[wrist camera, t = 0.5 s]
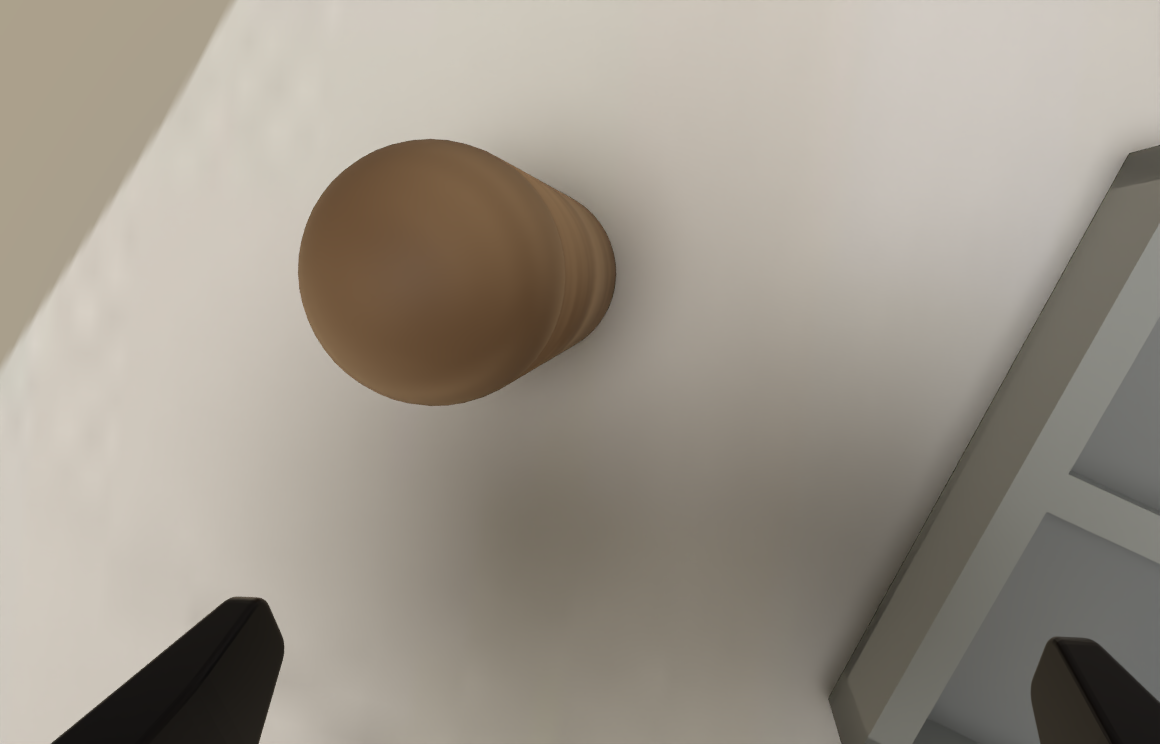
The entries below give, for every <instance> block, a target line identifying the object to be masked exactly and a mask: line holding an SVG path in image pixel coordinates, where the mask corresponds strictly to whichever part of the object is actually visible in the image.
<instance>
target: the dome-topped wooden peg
mask: <svg viewBox="0 0 1160 744" xmlns="http://www.w3.org/2000/svg"><path fill="white" fill-rule="evenodd" d="M298 277H299V289H300V294H301V298H302V303H303V306H304V309H305V312H306V315H307V318H308V321H309V323H310V325H311V327H312V329H313V332H314V334H315V336H316V337H317V339H318V340H319V342H320V344H321V345H322V347H323V348H324V350H325V351H326V352H327V353H328V355H329V356H330V357H331V358H332V359H333V361H334V362H335V363H336V364H337V365H338V366H339V367H340V368H341V369H342V370H344V371H345V372H346V373H347V374H348V375H349V376H351V377H352V378H354V379H355V380H356V381H358V382H359V383H361V384H362V385H364V386H366V387H368V388H369V389H371V390H373V391H375V392H377V393H379V394H381V395H384V396H386V397H389V398H391V399H394V400H398V401H402V402H406V403H411V404H419V405H428V406H444V405H453V404H460V403H465V402H468V401H472V400H475V399H478V398H481V397H484V396H487V395H489V394H491V393H493V392H495V391H498V390H500V389H501V388H503V387H505V386H506V385H508V384H510V383H511V382H513V381H515V380H516V379H518V378H520V377H521V376H523V375H525V374H527V373H528V372H530V371H532V370H533V369H535V368H537V367H538V366H540V365H542V364H543V363H545V362H547V361H548V360H550V359H552V358H553V357H555V356H557V355H559V354H560V353H562V352H564V351H565V350H567V349H569V348H570V347H572V346H574V345H575V344H577V343H578V342H580V341H582V340H583V339H584V338H585V337H587V336H588V335H589V334H590V333H591V332H592V331H593V330H594V329H595V328H596V327H597V326H598V324H599V323H600V321H601V320H602V318H603V317H604V315H605V313H606V311H607V310H608V308H609V305H610V302H611V300H612V297H613V293H614V288H615V281H616V264H615V258H614V252H613V249H612V246H611V243H610V240H609V238H608V236H607V234H606V232H605V230H604V229H603V227H602V225H601V224H600V222H599V221H598V220H597V219H596V218H595V216H594V215H593V214H592V213H591V212H590V211H589V210H588V209H586V208H585V207H584V206H583V205H581V204H580V203H578V202H577V201H575V200H574V199H572V198H570V197H568V196H566V195H565V194H563V193H561V192H559V191H557V190H556V189H554V188H552V187H550V186H548V185H547V184H545V183H543V182H541V181H540V180H538V179H536V178H534V177H532V176H531V175H529V174H527V173H525V172H523V171H522V170H520V169H518V168H516V167H514V166H513V165H511V164H509V163H507V162H505V161H504V160H502V159H500V158H498V157H496V156H494V155H492V154H490V153H488V152H487V151H484V150H481V149H479V148H476V147H473V146H470V145H467V144H463V143H458V142H453V141H449V140H437V139H425V140H412V141H406V142H401V143H397V144H392V145H389V146H386V147H384V148H381V149H378V150H376V151H374V152H372V153H370V154H368V155H366V156H364V157H362V158H361V159H359V160H358V161H356V162H355V163H354V164H352V165H351V166H349V167H348V168H347V169H345V170H344V171H343V172H342V173H341V174H340V175H339V176H338V177H336V178H335V179H334V180H333V181H332V182H331V184H330V185H329V186H328V187H327V189H326V190H325V191H324V192H323V194H322V195H321V197H320V198H319V200H318V201H317V203H316V205H315V206H314V208H313V210H312V212H311V215H310V217H309V219H308V221H307V224H306V227H305V230H304V234H303V237H302V241H301V246H300V253H299V264H298Z"/></svg>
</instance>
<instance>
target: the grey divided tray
mask: <svg viewBox="0 0 1160 744" xmlns="http://www.w3.org/2000/svg"><path fill="white" fill-rule="evenodd" d="M1056 636H1061V637H1081V638H1088V639H1091V640H1093V641H1095V642H1097V643H1098V644H1099V645H1101V646H1102V647H1103V648H1104V649H1105V650H1106V651H1107V652H1108V653H1109V654H1110V655H1111V656H1112V657H1113V658H1114V659H1115V660H1116V661H1117V662H1118V663H1119V664H1121V665H1122V666H1123V667H1124V668H1125V669H1126V670H1127V671H1128V672H1129V673H1130V674H1131V675H1132V676H1133V677H1134V678H1135V679H1136V680H1137V681H1138V682H1139V683H1140V684H1141V685H1142V686H1143V687H1144V688H1145V689H1146V690H1148V691H1149V692H1150V693H1151V694H1152V695H1153V696H1154V697H1155V698H1156V699H1157V700H1158V701H1159V702H1160V145H1159V146H1155V147H1151V148H1148V149H1144V150H1140V151H1137V152H1133V153H1129V155H1128V157H1127V159H1126V160H1125V162H1124V164H1123V166H1122V168H1121V169H1120V171H1119V173H1118V175H1117V177H1116V178H1115V180H1114V182H1113V184H1112V186H1111V188H1110V189H1109V191H1108V193H1107V195H1106V197H1105V198H1104V200H1103V202H1102V204H1101V206H1100V207H1099V209H1098V211H1097V213H1096V215H1095V217H1094V218H1093V220H1092V222H1091V224H1090V226H1089V227H1088V229H1087V231H1086V233H1085V235H1084V236H1083V238H1082V240H1081V242H1080V244H1079V246H1078V247H1077V249H1076V251H1075V253H1074V255H1073V256H1072V258H1071V260H1070V262H1069V264H1068V265H1067V267H1066V269H1065V271H1064V273H1063V274H1062V276H1061V278H1060V280H1059V282H1058V284H1057V285H1056V287H1055V289H1054V291H1053V293H1052V294H1051V296H1050V298H1049V300H1048V302H1047V303H1046V305H1045V307H1044V309H1043V311H1042V313H1041V314H1040V316H1039V318H1038V320H1037V322H1036V323H1035V325H1034V327H1033V329H1032V331H1031V332H1030V334H1029V336H1028V338H1027V340H1026V342H1025V343H1024V345H1023V347H1022V349H1021V351H1020V352H1019V354H1018V356H1017V358H1016V360H1015V361H1014V363H1013V365H1012V367H1011V369H1010V371H1009V372H1008V374H1007V376H1006V378H1005V380H1004V381H1003V383H1002V385H1001V387H1000V389H999V390H998V392H997V394H996V396H995V398H994V400H993V401H992V403H991V405H990V407H989V409H988V410H987V412H986V414H985V416H984V418H983V419H982V421H981V423H980V425H979V427H978V428H977V430H976V432H975V434H974V436H973V438H972V439H971V441H970V443H969V445H968V447H967V448H966V450H965V452H964V454H963V456H962V457H961V459H960V461H959V463H958V465H957V467H956V468H955V470H954V472H953V474H952V476H951V477H950V479H949V481H948V483H947V485H946V486H945V488H944V490H943V492H942V494H941V496H940V497H939V499H938V501H937V503H936V505H935V506H934V508H933V510H932V512H931V514H930V515H929V517H928V519H927V521H926V523H925V525H924V526H923V528H922V530H921V532H920V534H919V535H918V537H917V539H916V541H915V543H914V544H913V546H912V548H911V550H910V552H909V553H908V555H907V557H906V559H905V561H904V563H903V564H902V566H901V568H900V570H899V572H898V573H897V575H896V577H895V579H894V581H893V582H892V584H891V586H890V588H889V590H888V592H887V593H886V595H885V597H884V599H883V601H882V602H881V604H880V606H879V608H878V610H877V611H876V613H875V615H874V617H873V619H872V621H871V622H870V624H869V626H868V628H867V630H866V631H865V633H864V635H863V637H862V639H861V640H860V642H859V644H858V646H857V648H856V650H855V651H854V653H853V655H852V657H851V659H850V660H849V662H848V664H847V666H846V668H845V669H844V671H843V673H842V675H841V677H840V678H839V680H838V682H837V684H836V686H835V688H834V689H833V691H832V693H831V695H830V697H829V698H828V699H829V703H830V706H831V710H832V713H833V716H834V720H835V723H836V726H837V730H838V733H839V736H840V740H841V743H842V744H1040V740H1039V736H1038V731H1037V726H1036V722H1035V717H1034V713H1033V708H1032V703H1031V682H1032V679H1033V676H1034V673H1035V671H1036V668H1037V666H1038V663H1039V660H1040V658H1041V655H1042V653H1043V650H1044V648H1045V645H1046V643H1047V641H1048V640H1049V639H1051V638H1052V637H1056Z"/></svg>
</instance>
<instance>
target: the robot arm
mask: <svg viewBox="0 0 1160 744" xmlns="http://www.w3.org/2000/svg"><path fill="white" fill-rule="evenodd" d="M283 656H284V641H283V637H282V635H281V632H280V630H279V628H278V625H277V623H276V621H275V619H274V616H273V614H272V612H271V609H270V607H269V605H268V603H267V602H266V601H265V600H264V599H262V598H257V597H232V598H230V599H228V600H226V601H224V602H223V603H222V604H221V605H219V606H218V607H217V608H216V609H214V610H213V611H212V612H211V613H210V614H208V615H207V616H206V617H205V618H203V619H202V620H201V621H200V622H199V623H197V624H196V625H195V626H194V627H193V628H191V629H190V630H189V631H188V632H186V633H185V634H184V635H183V636H182V637H180V638H179V639H178V640H177V641H175V642H174V643H173V644H172V645H171V646H169V647H168V648H167V649H166V650H164V651H163V652H162V653H161V654H160V655H158V656H157V657H156V658H155V659H153V660H152V661H151V662H150V663H149V664H147V665H146V666H145V667H144V668H143V669H141V670H140V671H139V672H138V673H136V674H135V675H134V676H133V677H132V678H130V679H129V680H128V681H127V682H125V683H124V684H123V685H122V686H121V687H119V688H118V689H117V690H116V691H114V692H113V693H112V694H111V695H110V696H108V697H107V698H106V699H105V700H103V701H102V702H101V703H100V704H99V705H97V706H96V707H95V708H94V709H93V710H91V711H90V712H89V713H88V714H86V715H85V716H84V717H83V718H82V719H80V720H79V721H78V722H77V723H75V724H74V725H73V726H72V727H71V728H69V729H68V730H67V731H66V732H64V733H63V734H62V735H61V736H60V737H58V738H57V739H56V740H55V741H54V742H52V743H51V744H259V741H260V737H261V734H262V730H263V727H264V723H265V720H266V716H267V713H268V709H269V706H270V702H271V699H272V695H273V692H274V689H275V685H276V682H277V678H278V675H279V671H280V668H281V664H282V661H283ZM1031 703H1032V708H1033V713H1034V717H1035V722H1036V726H1037V731H1038V736H1039V740H1040V744H1160V702H1159V701H1158V700H1157V699H1156V698H1155V697H1154V696H1153V695H1152V694H1151V693H1150V692H1149V691H1148V690H1146V689H1145V688H1144V687H1143V686H1142V685H1141V684H1140V683H1139V682H1138V681H1137V680H1136V679H1135V678H1134V677H1133V676H1132V675H1131V674H1130V673H1129V672H1128V671H1127V670H1126V669H1125V668H1124V667H1123V666H1122V665H1121V664H1119V663H1118V662H1117V661H1116V660H1115V659H1114V658H1113V657H1112V656H1111V655H1110V654H1109V653H1108V652H1107V651H1106V650H1105V649H1104V648H1103V647H1102V646H1101V645H1099V644H1098V643H1097V642H1095V641H1093V640H1091V639H1088V638H1081V637H1061V636H1056V637H1052V638H1051V639H1049V640H1048V641H1047V643H1046V645H1045V648H1044V650H1043V653H1042V655H1041V658H1040V660H1039V663H1038V666H1037V668H1036V671H1035V673H1034V676H1033V679H1032V682H1031Z"/></svg>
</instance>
